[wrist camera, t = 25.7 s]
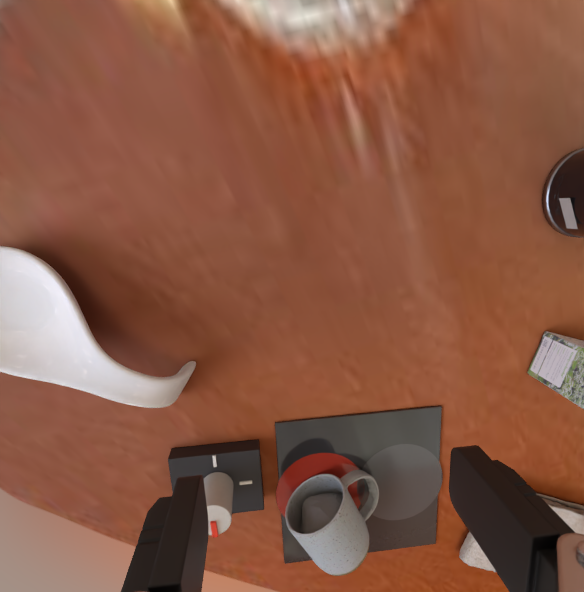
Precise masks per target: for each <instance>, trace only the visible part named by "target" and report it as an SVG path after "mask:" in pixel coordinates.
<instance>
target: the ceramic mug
mask: <svg viewBox="0 0 584 592" xmlns="http://www.w3.org/2000/svg"><path fill="white" fill-rule="evenodd" d="M363 478H365V480H366V482H367V484H368V490H369V496H368V499H367V501H366V503H365V505H364V506H363V507H362V509H361V510H360V511H358V509H357V507H356V505H355V503H354V501H353V499H352V497H351V495H350V494H349V492H348V490H347V488H348V486H349V485H350V484H352V483H354V482H355V481H357V480H359V479H363ZM378 499H379V489H378V485H377V483H376V481H375V479H374V478H373V477H372V476H371V475H369V474H368V473H366V472H365V471H362V470H353V471H351V472H349V473H347V474H346V475H344V476H343V477H342V478H338V477H337V476H335V475H332V474H320V475H316V476H313V477H311V478H309V479H307V480H306V481H304V482H303V483H302V484H300V485H299V486H298V487H297V488H296V490H295V491H294V492H293V493H292V495H291V497H290V498H289V501H288V503H287V506H286V512H285V519H286V524H287V527H288V529H289V530H290V532H291V533H292V534H293V536H294V537H295V538H296V539H297V540H298V542H299V543H300V544H301V546H302V547H303V548H304V549H305V551H306V552H307V553H308V554H309V556H310V557H311V558H312V560H313V561H314V562H315V563H316V565H317V566H318V567H319V568H321V569H322V570H323V571H325V572H326V573H328V574H330V575H334V576H341V575H346V574H349V573H351V572H352V571H354V570H355V569H356V568H358V567H359V566H360V565H361V563H362V562H363V561H364V559H365V557H366V555H367V553H368V550H369V532H368V529H367V526H366V523H365V521H366V520H367V519H368V518H369V517H370V516H371V514H372V513H373V512H374V510H375V508H376V506H377V503H378Z"/></svg>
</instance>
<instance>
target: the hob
mask: <svg viewBox="0 0 584 592" xmlns="http://www.w3.org/2000/svg"><path fill="white" fill-rule="evenodd" d="M441 410H442V407H441V406H431V407H421V408H411V409H401V410H391V411H382V412H372V413H362V414H352V415H342V416H332V417H322V418H312V419H302V420H292V421H282V422H275V430H276V445H277V460H278V474H279V482H278V485H277V489H276V501H277V505H278V508H279V510H280V512H281V518H282V533H283V547H284V562H285V563H293V562H300V561H308V560H312V558H311V557H310V556H309V554H308V553H307V552H306V551H305V549H304V548H303V547H302V546H301V544H300V543H299V542H298V540H297V539H296V538H295V537H294V536H293V534H292V533H291V532H290V530H289V529H288V527H287V524H286V519H285V512H286V506H287V503H288V501H289V498H290V497H291V495H292V493H293V492H294V491H295V490H296V488H297V487H298V486H299V485H300V484H302V483H303V482H304V481H306V480H307V479H309V478H311V477H313V476H316V475H320V474H332V475H335V476H337V477H338V478H342V477H343V476H344V475H346V474H347V473H349V472H351V471H353V470H362V471H365V472H366V473H368V474H369V475H371V476H372V477H373V478H374V479H375V481H376V483H377V485H378V489H379V499H378V503H377V506H376V508H375V510H374V512H373V513H372V514H371V516H370V517H369V518H368V519H367V520H366V521H365V523H366V526H367V529H368V532H369V550H368V552H376V551H383V550H391V549H399V548H406V547H414V546H421V545H429V544H436V523H437V501H438V493H439V491H440V488H441V484H442V469H441V466H440V463H439V455H440V433H441ZM347 490H348V492H349V494H350V495H351V497H352V499H353V501H354V503H355V505H356V507H357V509H358V511H360V510H361V509H362V507H363V506H364V505H365V503H366V501H367V499H368V496H369V490H368V484H367V482H366V480H365V478H363V479H359V480H357V481H355V482H354V483H352V484H350V485H349V486H348V488H347Z"/></svg>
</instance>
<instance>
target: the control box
mask: <svg viewBox="0 0 584 592" xmlns="http://www.w3.org/2000/svg"><path fill="white" fill-rule="evenodd" d="M168 462H169V469H170V476H171V483H172V490H173V491H174V488H175V484H176V480H177V478H179V477H187V476H196V475H202V476H203V479H204V478H205V477H206V476H207V475H209V474H211V473H214V472H222V473H225V474H227V475H228V476H230V478H231V479H232V481H233V485H234V486H233V501H232V513H239V512H248V511H256V510H264V497H263V484H262V472H261V459H260V447H259V440H248V441H239V442H229V443H220V444H210V445H201V446H191V447H181V448H172V449H171V452H170V455H169V458H168Z"/></svg>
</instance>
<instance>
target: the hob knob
mask: <svg viewBox="0 0 584 592" xmlns="http://www.w3.org/2000/svg"><path fill="white" fill-rule="evenodd" d="M233 486H234V485H233V481H232V479H231V478H230V476H228V475H227V474H225V473H222V472H214V473H211V474H209V475H207V476H206V477H205V478H204V487H205V495H206V503H207V512H208V526H209V529H208V535H212V536H213V538H214V537H218V534H221V533H223V532H224V531H226V530H227V529H228V527H229V526H230V524H231V517H232V501H233Z"/></svg>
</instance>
